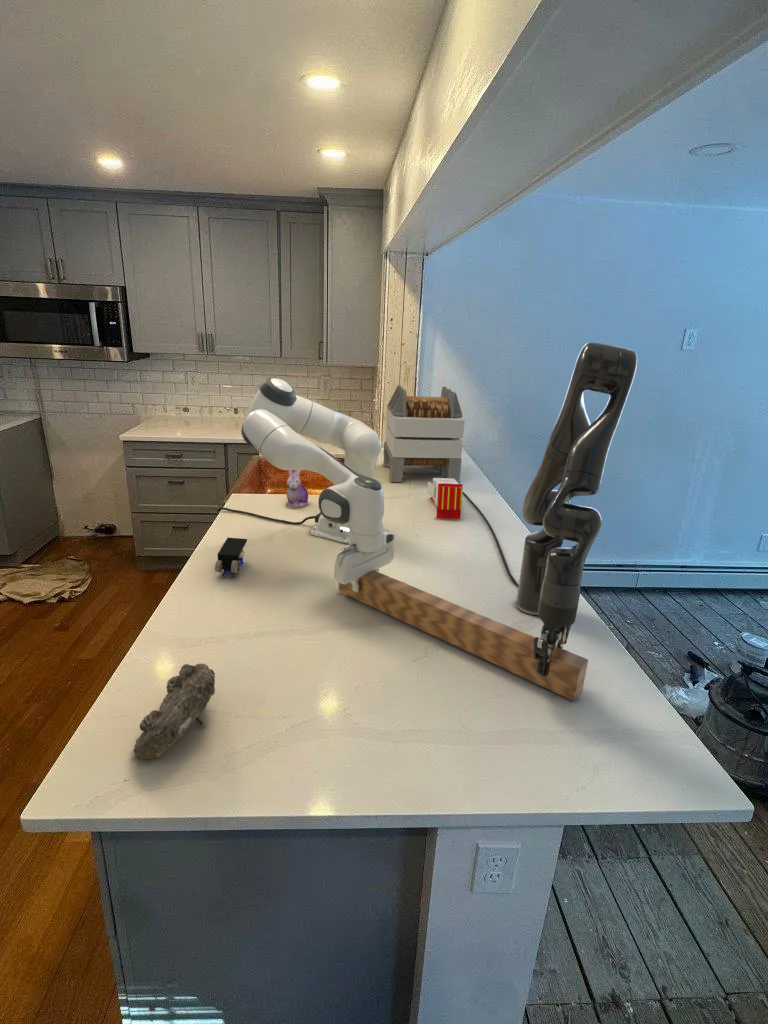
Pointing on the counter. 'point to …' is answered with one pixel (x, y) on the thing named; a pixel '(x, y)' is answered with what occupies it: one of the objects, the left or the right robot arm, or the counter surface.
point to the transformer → (423, 433)
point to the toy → (446, 497)
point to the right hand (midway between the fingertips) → (547, 668)
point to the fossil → (176, 710)
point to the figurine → (296, 491)
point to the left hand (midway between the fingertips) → (364, 586)
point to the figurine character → (230, 556)
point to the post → (470, 632)
